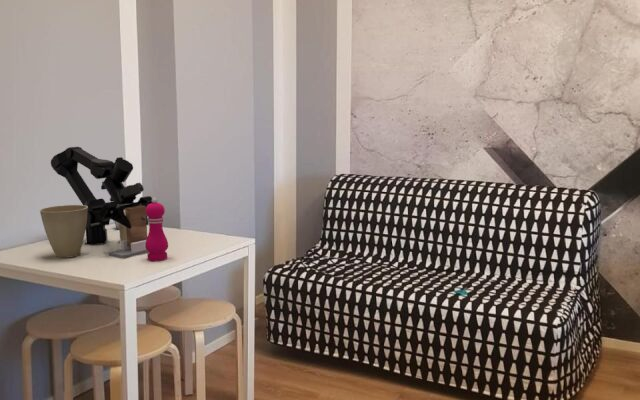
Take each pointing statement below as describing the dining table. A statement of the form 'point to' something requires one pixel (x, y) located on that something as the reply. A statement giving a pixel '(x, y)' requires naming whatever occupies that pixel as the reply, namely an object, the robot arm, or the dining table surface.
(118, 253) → the board
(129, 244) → the door
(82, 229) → the plant pot
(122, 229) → the candle
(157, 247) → the pepper mill
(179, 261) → the dining table surface
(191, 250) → the dining table surface
